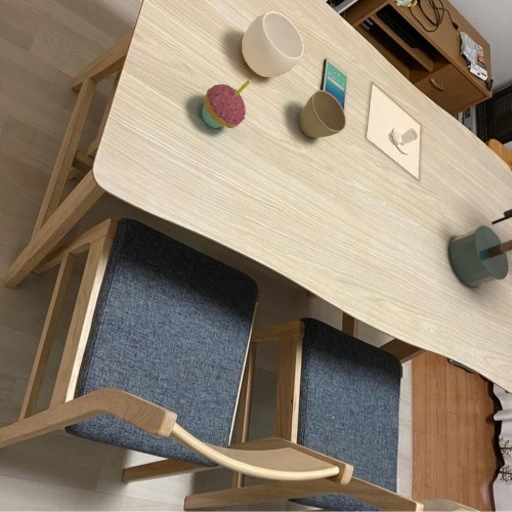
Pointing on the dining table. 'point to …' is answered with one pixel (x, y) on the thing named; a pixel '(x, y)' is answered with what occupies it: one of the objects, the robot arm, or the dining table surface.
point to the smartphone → (335, 81)
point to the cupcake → (224, 106)
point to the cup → (272, 45)
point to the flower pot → (322, 115)
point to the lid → (492, 252)
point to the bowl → (467, 261)
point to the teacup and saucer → (394, 131)
